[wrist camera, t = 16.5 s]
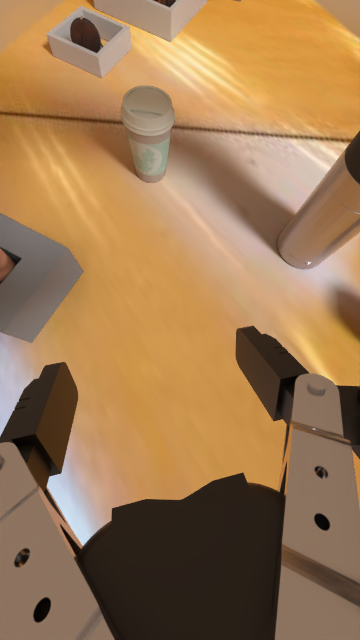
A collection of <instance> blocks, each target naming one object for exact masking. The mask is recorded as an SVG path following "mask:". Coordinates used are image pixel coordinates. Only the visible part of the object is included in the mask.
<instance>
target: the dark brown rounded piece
mask: <svg viewBox="0 0 360 640" xmlns="http://www.w3.org/2000/svg"><path fill="white" fill-rule="evenodd" d="M70 37H71V40H72V42H73V43H75V44H77V45H79V46H82V47H84V48H86V49H88V50H90V51H93V52H95V53H98V52H99V51H100V50H101V49H102V48H103V45H102V44H101V40H100V35H99V32H98V30H97V28H96V27H95V25H94V24H93V23H92V22H91V21H90V20H88V19H86V18H83V16H81V17H78V18H76V19H74V20H73V22H72V23H71V27H70Z"/></svg>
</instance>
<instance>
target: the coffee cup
mask: <svg viewBox="0 0 360 640" xmlns="http://www.w3.org/2000/svg"><path fill="white" fill-rule="evenodd" d="M121 119H122V122H123V123H124V125H125V128H126V132H127V136H128V141H129V145H130V149H131V153H132V157H133V161H134V165H135V169H136V173H137V175H138V177H139V178H140V179H141V180H143V181H145V182H150V183H154V182H158V181H160V180H161V179H162V178H163V177H164V175H165V171H166V165H167V158H168V151H169V144H170V137H171V130H172V126H173V124H174V121H175V115H174V109H173V106H172V102H171V99H170V97H169V96H168V94H167V93H165V92H164V91H163V90H161V89H159V88H157V87H153V86H138V87H134V88H132V89H130V90H129V91H128V92H127V93H126V94H125V95H124V98H123V104H122V107H121Z"/></svg>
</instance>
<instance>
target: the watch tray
mask: <svg viewBox="0 0 360 640" xmlns="http://www.w3.org/2000/svg"><path fill="white" fill-rule="evenodd" d="M81 16H83V18H86V19H88V20H90V21H91V22H92V23H93V24H94V25H95V27H96V28H97V30H98V32H99V35H100V38H102V39H105V40H107V41H109V42H108V43H107V44H106V45H105V46H104V47H103V48H102V49H101V50H100V51H99V52H98V53H95V52H93V51H90V50H88V49H86V48H84V47H82V46H79V45H77V44H75V43H73V42H72V40H71V37H70V27H71V23H72V22H73V20H74V19H76V18H78V17H81ZM46 35H47V38H48V41H49V44H50V47H51V50H52V53H53V56H55V57H57V58H59V59H61V60H63V61H65V62H68V63H70V64H72V65H74V66H76V67H79V68H81V69H83V70H85V71H87V72H89V73H92V74H94V75H96V76H98V77H100V78H103V77H104V76H105V75H106V74H107V73H108V72H109V71H110V70H111V69H112V68H113V67H114V66H115V65H116V64H117V63H118V62H119V61H120V60H121V59H122V58H123V57H124V56H125V55H126V54H127V53H128V52H129V51H130V50H131V36H130V27H128V26H126V25H123V24H121V23H119V22H116V21H114V20H112V19H110V18H107V17H105V16H103V15H100V14H98V13H96V12H94V11H91V10H89V9H87V8H85V7H82V6H80V7H79V8H78V9H76V10H75V11H74V12H73V13H72V14H70V15H69V16H68V17H67V18H65V19H64V20H63V21H62V22H61V23H59V24H58V25H57V26H56V27H54V28H53V29H52V30H51V31H50V32H48V33H47V34H46Z"/></svg>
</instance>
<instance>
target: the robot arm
mask: <svg viewBox="0 0 360 640" xmlns="http://www.w3.org/2000/svg"><path fill="white" fill-rule="evenodd" d="M359 232H360V131H359V132H358V134H357V135H356V136H355V137H354V139H353V140H352V141H351V143H350V144H349V145H348V147H347V148H346V149H345V151H344V152H343V153H342V154H341V156H340V157H339V158H338V160H337V161H336V162H335V163H334V165H333V166H332V168H331V169H330V170H329V171H328V173H327V174H326V175H325V177H324V178H323V179H322V181H321V182H320V183H319V184H318V186H317V187H316V188H315V190H314V191H313V192H312V194H311V195H310V196H309V197H308V199H307V200H306V201H305V203H304V204H303V205H302V207H301V208H300V209H299V210H298V212H297V213H296V214H295V216H294V217H293V218H292V219H291V221H290V222H289V223H288V225H287V226H286V227H285V228H284V230H283V231H282V232H281V234H280V235H279V237H278V241H277V247H278V250H279V253H280V255H281V256H282V258H283V259H284V260H285V261H286V262H287V263H289V264H290V265H292V266H294V267H297V268H301V269H310V268H313V267H316V266H317V265H319V264H320V263H321V262H322V261H324V260H325V259H326V258H328V257H329V256H330V255H331V254H333V253H334V252H335V251H337V250H338V249H339V248H340V247H342V246H343V245H344V244H346V243H347V242H348V241H349V240H351V239H352V238H353V237H354V236H356V235H357V234H358V233H359ZM236 360H237V363H238V365H239V367H240V369H241V370H242V372H243V374H244V375H245V377H246V378H247V380H248V381H249V383H250V385H251V386H252V388H253V389H254V391H255V393H256V394H257V396H258V397H259V399H260V400H261V402H262V404H263V405H264V407H265V408H266V410H267V412H268V413H269V415H270V416H271V418H272V419H273V421H277V420H281V419H283V420H284V421H285V423H286V424H287V425H286V431H285V439H284V448H283V456H282V465H281V473H280V479H279V485H278V491H277V490H274V489H272V488H270V487H267V486H264V485H261V484H256V483H247V481H246V478H245V476H244V473H240V474H236V475H232V476H229V477H225V478H222V479H218V480H214V481H212V482H210V483H209V484H207V485H205V486H204V487H202V488H201V489H199V490H197V491H196V492H194V493H193V494H191V495H189V496H188V497H186V498H184V499H182V500H157V499H145V500H141V501H137V502H134V503H130V504H127V505H123V506H119V507H116V508H112V521H110V522H109V523H107V524H106V525H104V526H103V527H102V528H101V529H99V530H98V531H97V532H96V533H95V534H94V535H93V536H92V537H91V538H90V539H89V540H88V541H87V542H86V544H85V545H84V546H82V545H81V543H80V541H79V540H78V538H77V537H76V535H75V534H74V532H73V531H72V529H71V528H70V526H69V524H68V522H67V521H66V519H65V517H64V515H63V514H62V512H61V510H60V509H59V507H58V505H57V503H56V502H55V500H54V498H53V496H52V495H51V493H50V491H49V489H48V488H47V483H48V479H49V476H53V475H57V474H61V472H62V467H63V463H64V458H65V454H66V450H67V445H68V441H69V436H70V432H71V428H72V423H73V419H74V414H75V410H76V406H77V401H78V391H77V387H76V385H75V382H74V380H73V378H72V375H71V373H70V371H69V369H68V366H67V364H66V363H65V362H61V363H56V364H51V365H46V366H45V367H44V368H43V370H42V373H41V375H40V377H39V379H34V380H33V381H32V382H31V383H30V384H29V385H28V386H27V387H26V388H25V389H24V391H23V393H22V395H21V397H20V399H19V402H18V403H17V405H16V407H15V411H13V413H12V415H11V417H10V419H9V421H8V423H7V425H6V427H5V429H4V431H3V432H2V434H1V436H0V640H360V509H359V501H358V493H357V485H356V478H355V470H354V462H353V454H352V450H353V451H354V452H355V454H356V455H357V456H358V457H359V459H360V386H337V385H335V384H334V383H333V382H332V381H331V380H329V379H327V378H325V377H323V376H321V375H317V374H310V373H309V372H308V371H307V370H306V369H305V368H304V367H303V366H302V365H301V364H300V363H299V362H298V361H297V360H296V359H295V358H294V357H293V356H292V355H291V354H290V353H288V351H287V350H286V349H285V348H284V347H282V345H281V344H280V343H279V342H278V341H277V340H276V339H275V338H273V337H271V336H269V335H267V334H261V333H260V332H259V331H258V330H257V329H256V328H255V327H254V326H249V327H244V328H239V329H237V331H236Z"/></svg>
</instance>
